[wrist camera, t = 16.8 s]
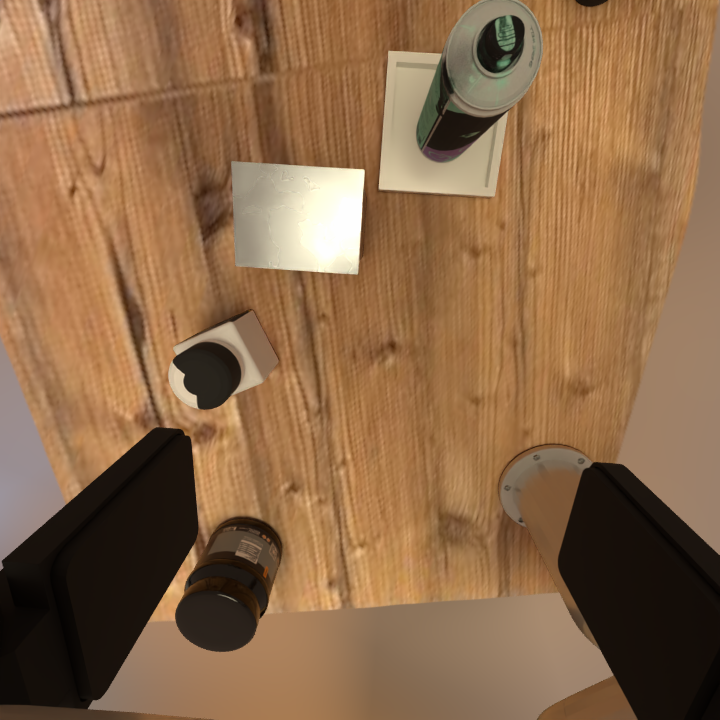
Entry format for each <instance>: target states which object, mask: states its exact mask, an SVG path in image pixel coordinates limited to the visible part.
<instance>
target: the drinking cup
mask: <svg viewBox="0 0 720 720" xmlns="http://www.w3.org/2000/svg"><path fill="white" fill-rule="evenodd" d="M576 1H577V2H578V3H580V4H581V5H584V6H597V5H600V4H602V3H604V2H606V1H607V0H576Z"/></svg>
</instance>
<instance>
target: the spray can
mask: <svg viewBox="0 0 720 720" xmlns="http://www.w3.org/2000/svg"><path fill="white" fill-rule="evenodd" d="M542 54H543V40H542V33H541V29H540V26H539V23H538V21H537V19H536V17H535V16H534V14H533V12H532V11H531V10H530V9H529V8H528V7H527V6H526V5H525V4H523V3H522V2H520V1H519V0H481V1H479V2H478V3H476V4H475V5H473V6H472V7H470V8H469V9H468V10H467V11H466V12H465V13H464V14H463V15H462V16H461V18H460V19H459V21H458V22H457V23H456V25H455V26H454V28H453V29H452V31H451V33H450V35H449V37H448V39H447V41H446V44H445V47H444V49H443V52H442V55H441V58H440V61H439V64H438V66H437V69H436V72H435V75H434V78H433V80H432V83H431V86H430V89H429V92H428V94H427V97H426V100H425V103H424V106H423V109H422V111H421V114H420V117H419V120H418V123H417V128H416V140H417V145H418V147H419V149H420V151H421V152H422V154H423V155H424V156H425V157H426V158H428V159H429V160H431V161H434V162H437V163H446V162H450V161H453V160H454V159H456V158H458V157H459V156H460V155H461V154H463V153H464V152H465V151H466V150H467V149H468V148H469V147H470V146H471V145H472V144H473V143H474V142H475V141H476V140H478V139H479V138H480V137H481V136H482V135H483V134H484V133H485V132H486V131H487V130H488V129H489V128H490V127H491V126H492V125H494V124H495V123H496V122H497V121H498V120H499V119H500V118H501V117H502V116H503V115H504V114H505V113H506V112H507V111H509V110H510V109H511V108H512V107H513V106H514V105H515V104H516V103H517V102H518V101H519V100H520V99H521V98H522V97H523V96H524V94H525V93H526V92H527V90H528V89H529V87H530V85H531V84H532V82H533V80H534V79H535V77H536V75H537V72H538V70H539V67H540V64H541V59H542Z"/></svg>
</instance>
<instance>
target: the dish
mask: <svg viewBox="0 0 720 720" xmlns="http://www.w3.org/2000/svg"><path fill="white" fill-rule="evenodd" d="M441 55H442V54H435V53H418V52H400V51H389V53H388V67H387V81H386V94H385V108H384V122H383V136H382V150H381V163H380V177H379V191H385V192H401V193H416V194H432V195H447V196H463V197H478V198H492V197H495V191H496V185H497V179H498V172H499V166H500V160H501V154H502V147H503V141H504V135H505V129H506V122H507V116H508V111H507V112H506V113H505V114H504V115H503V116H502V117H501V118H500V119H499V120H498V121H497V122H496V123H495V124H494V125H492V126H491V127H490V128H489V129H488V130H487V131H486V132H485V133H484V134H483V135H482V136H481V137H480V138H479V139H478V140H476V141H475V142H474V143H473V144H472V145H471V146H470V147H469V148H468V149H467V150H466V151H465V152H464V153H463V154H461V155H460V156H459V157H458V158H456V159H454V160H453V161H450V162H446V163H437V162H434V161H431V160H429V159H428V158H426V157H425V156H424V155H423V154H422V152H421V151H420V149H419V147H418V145H417V140H416V128H417V123H418V120H419V117H420V114H421V111H422V109H423V106H424V103H425V100H426V97H427V94H428V92H429V89H430V86H431V83H432V80H433V78H434V75H435V72H436V69H437V66H438V64H439V61H440V58H441Z"/></svg>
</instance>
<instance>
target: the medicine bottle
mask: <svg viewBox="0 0 720 720" xmlns="http://www.w3.org/2000/svg"><path fill="white" fill-rule="evenodd" d="M173 349H174V352H175V353H176V355H177V356H176V357H175V358H174V359H173V361H172V362H171V364H170V367H169V372H168V377H169V383H170V386H171V388H172V390H173V392H174V393H175V395H176V396H177V397H178V398H179V399H180V400H181V401H182V402H184V403H185V404H187V405H189V406H191V407H194V408H197V409H204V410H205V409H213V408H216V407H218V406H220V405H222V404H223V403H224V402H225V401H226V400H227V399H228V398H229V397H230V396H232V395H234V394H237V393H239V392H242V391H244V390H246V389H249V388H251V387H254V386H256V385H259V384H261V383H263V382H264V381H265V379H266V378H267V377H268V375H269V374H270V373H271V372H272V370H273V369H274V368H275V366H276V365H277V364H278V362H279V360H278V358H277V356H276V354H275V352H274V350H273V348H272V346H271V344H270V342H269V340H268V338H267V336H266V335H265V333H264V331H263V329H262V327H261V325H260V323H259V321H258V319H257V317H256V315H255V313H254V311H253V310H248V311H246V312H243V313H241V314H239V315H236V316H234V317H232V318H230V319H227V320H225V321H223V322H221V323H218V324H216V325H214V326H212V327H209V328H207V329H205V330H203V331H201V332H199V333H197V334H195V335H193V336H192V337H190V338H188V339H186V340H184V341H183V342H181V343H179V344H177V345H175V346H174V348H173Z"/></svg>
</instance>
